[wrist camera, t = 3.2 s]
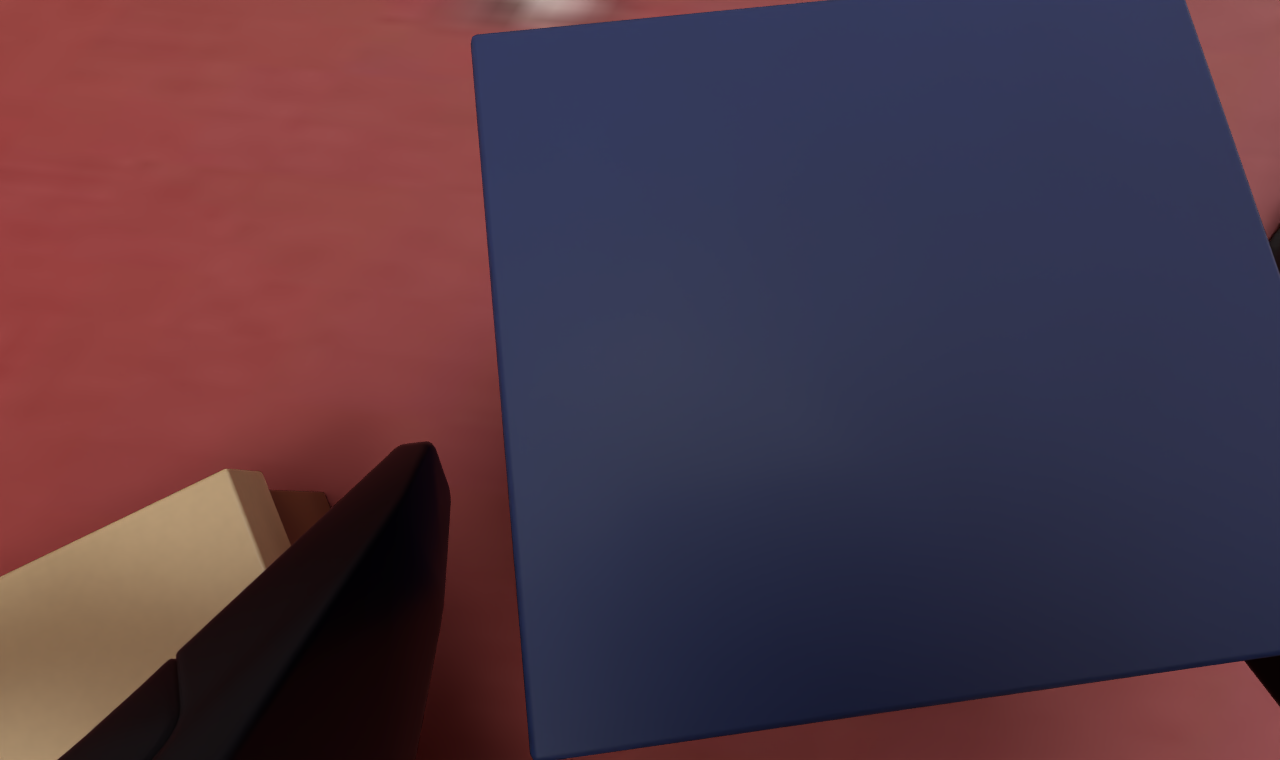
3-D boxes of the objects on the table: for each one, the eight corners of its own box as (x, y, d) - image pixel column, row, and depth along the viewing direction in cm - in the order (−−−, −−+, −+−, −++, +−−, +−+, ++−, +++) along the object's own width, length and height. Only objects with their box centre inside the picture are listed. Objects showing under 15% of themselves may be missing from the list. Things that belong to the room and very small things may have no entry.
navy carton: (817, 536, 16) (1411, 639, 4) (607, 564, 16) (531, 767, 4) (784, 351, 17) (1177, -38, 5) (586, 375, 17) (468, 33, 5)
